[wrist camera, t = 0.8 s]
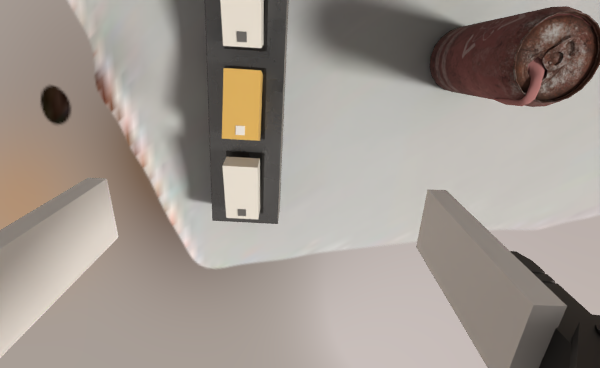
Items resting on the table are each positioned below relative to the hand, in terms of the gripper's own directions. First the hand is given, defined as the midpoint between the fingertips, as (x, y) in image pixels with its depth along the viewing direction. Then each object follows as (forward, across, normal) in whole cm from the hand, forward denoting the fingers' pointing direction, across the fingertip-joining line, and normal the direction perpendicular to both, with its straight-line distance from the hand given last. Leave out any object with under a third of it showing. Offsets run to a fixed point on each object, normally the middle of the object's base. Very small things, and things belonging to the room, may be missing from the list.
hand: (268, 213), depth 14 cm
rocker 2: (+18, -4, -6) cm, 19 cm away
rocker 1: (+18, -4, +10) cm, 21 cm away
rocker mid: (+18, -4, +2) cm, 18 cm away
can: (+24, +17, +6) cm, 30 cm away
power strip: (+24, -4, +4) cm, 24 cm away
